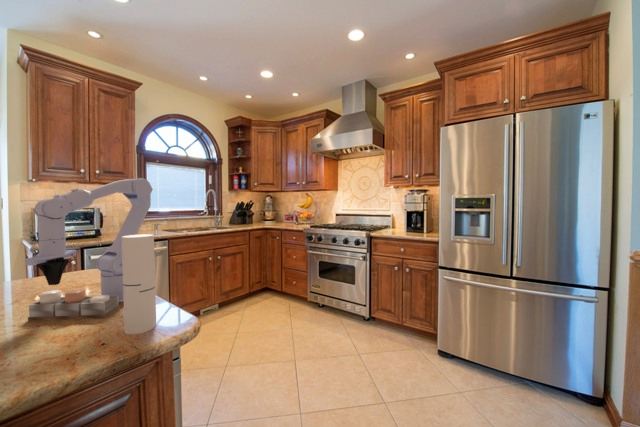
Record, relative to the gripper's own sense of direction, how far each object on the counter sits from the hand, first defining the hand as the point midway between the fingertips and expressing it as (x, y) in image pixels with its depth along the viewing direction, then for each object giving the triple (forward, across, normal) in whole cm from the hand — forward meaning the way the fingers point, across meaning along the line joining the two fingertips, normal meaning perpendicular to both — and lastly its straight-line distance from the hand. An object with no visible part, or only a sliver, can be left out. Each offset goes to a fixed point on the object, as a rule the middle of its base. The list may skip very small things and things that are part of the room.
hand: (54, 284), depth 81 cm
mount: (+9, 0, +6) cm, 11 cm away
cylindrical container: (+10, +11, +30) cm, 34 cm away
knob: (+8, 0, +13) cm, 15 cm away
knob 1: (+7, 0, -1) cm, 7 cm away
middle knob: (+6, 0, +6) cm, 9 cm away
